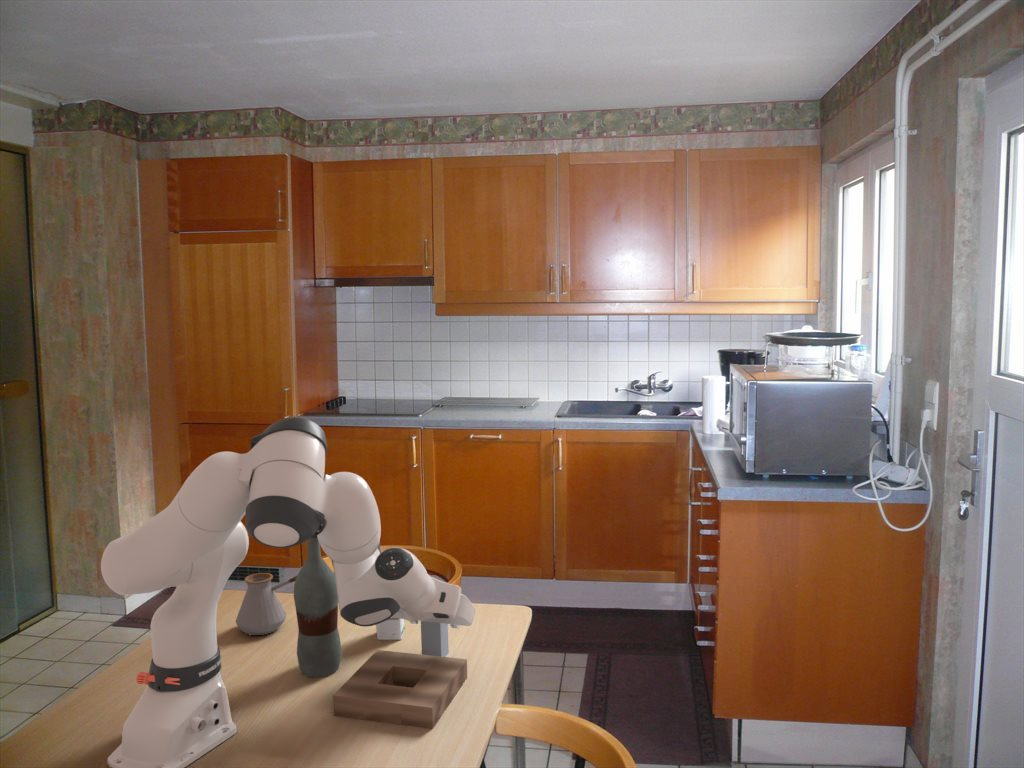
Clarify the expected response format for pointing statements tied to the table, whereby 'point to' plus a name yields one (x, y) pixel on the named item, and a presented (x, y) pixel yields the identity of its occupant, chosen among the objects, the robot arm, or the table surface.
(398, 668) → the socket block
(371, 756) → the table surface
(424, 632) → the peg
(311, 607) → the bottle
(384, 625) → the syrup box
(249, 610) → the coffee pot
